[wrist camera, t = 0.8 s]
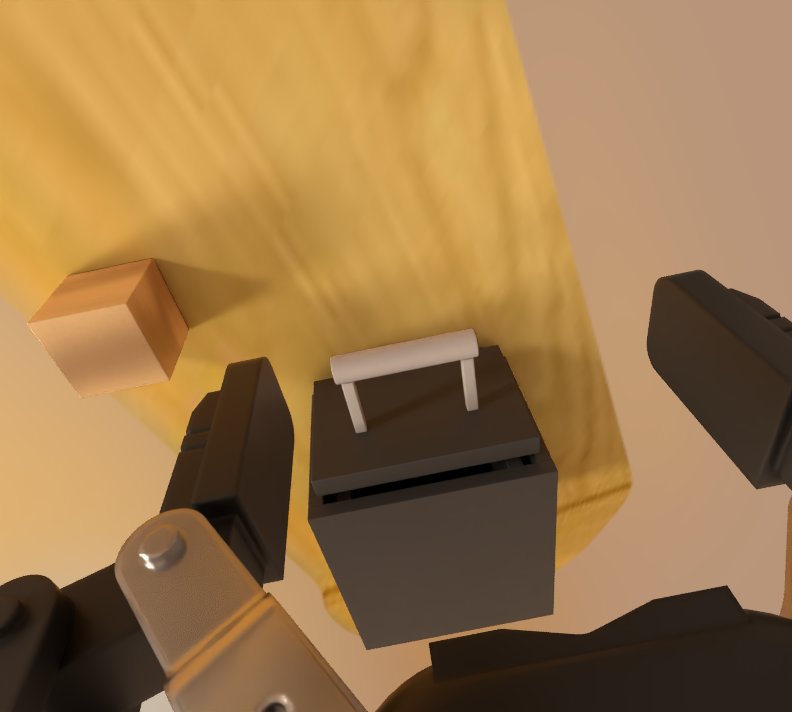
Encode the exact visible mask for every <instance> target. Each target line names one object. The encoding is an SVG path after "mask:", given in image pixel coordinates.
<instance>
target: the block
mask: <svg viewBox="0 0 792 712" xmlns="http://www.w3.org/2000/svg"><path fill="white" fill-rule="evenodd" d="M27 324H28V326H29V327H30V329H31V330H32V331H33V333H34V334H35V336H36V337H37V338H38V340H39V341H40V342H41V343H42V345H43V347H44V348H45V349H46V351H47V352H48V353H49V355H50V356H51V358H52V359H53V360H54V362H55V363H56V365H57V366H58V367H59V369H60V370H61V371H62V373H63V374H64V376H65V377H66V378H67V380H68V381H69V383H70V384H71V385H72V387H73V388H74V389H75V391H76V392H77V394H78V395H79V396H80V398H85V397H90V396H95V395H100V394H105V393H110V392H115V391H120V390H125V389H130V388H135V387H140V386H145V385H150V384H155V383H160V382H165V381H169V380H170V378H171V376H172V373H173V371H174V368H175V365H176V363H177V360H178V357H179V355H180V352H181V350H182V347H183V344H184V342H185V339H186V336H187V334H188V331H189V329H188V327H187V325H186V323H185V321H184V319H183V317H182V315H181V313H180V311H179V309H178V307H177V305H176V303H175V301H174V299H173V297H172V295H171V293H170V291H169V289H168V287H167V285H166V283H165V281H164V279H163V277H162V275H161V273H160V271H159V269H158V267H157V265H156V263H155V261H154V259H153V258H152V259H147V260H142V261H138V262H133V263H128V264H123V265H118V266H113V267H108V268H103V269H99V270H94V271H89V272H84V273H79V274H74V275H69V276H67V277H66V278H65V279H64V281H63V282H62V283H61V284H60V285H59V286H58V288H57V289H56V290H55V291H54V292H53V294H52V295H51V296H50V297H49V298H48V299H47V301H46V302H45V303H44V304H43V305H42V307H41V308H40V309H39V310H38V311H37V313H36V314H35V315H34V316H33V317H32V318H31V320H30V321H29V322H28V323H27Z"/></svg>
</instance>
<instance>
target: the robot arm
mask: <svg viewBox="0 0 792 712" xmlns="http://www.w3.org/2000/svg"><path fill="white" fill-rule="evenodd" d="M647 351H648V356H649V359H650V361H651V364H652V366H653V368H654V369H655V370H656V372H657V373H658V374H659V375H660V376H661V378H662V379H663V380H664V381H665V382H666V383H667V385H668V386H669V387H670V388H671V389H672V391H673V392H674V393H675V394H676V395H677V396H678V398H679V399H680V400H681V401H682V402H683V404H684V405H685V406H686V407H687V408H688V409H689V411H690V412H691V413H692V414H693V415H694V416H695V418H696V419H697V420H698V421H699V422H700V423H701V425H702V426H703V427H704V428H705V429H706V431H707V432H708V433H709V434H710V435H711V436H712V438H713V439H714V440H715V441H716V442H717V444H718V445H719V446H720V447H721V448H722V449H723V451H724V452H725V453H726V454H727V455H728V456H729V458H730V459H731V460H732V461H733V462H734V463H735V465H736V466H737V467H738V468H739V469H740V471H741V472H742V473H743V474H744V475H745V476H746V478H747V479H748V480H749V481H750V482H751V484H752V485H753V486H754V487H755V488H756V489H761V488H766V487H771V486H776V485H781V484H786V485H787V486H788V487H789V488H790V489H791V490H792V322H791V321H789V320H788V319H786V318H785V317H781V316H780V313H778V312H777V311H775V310H774V309H773V308H771V307H770V306H769V305H767V304H766V303H764V302H763V301H762V300H760V299H758V298H756V297H753V296H750V295H748V294H745V293H742V292H740V291H737V290H734V289H727V288H726V287H725V286H723V285H722V284H720V283H719V282H718V281H717V280H715V279H714V278H713V277H711V276H710V275H709V274H707V273H706V272H704V271H702V270H695V271H691V272H685V273H680V274H675V275H671V276H666V277H661V278H659V279H658V280H657V282H656V284H655V287H654V292H653V299H652V307H651V314H650V322H649V328H648V336H647ZM186 434H187V435H186V436H184V439H183V442H182V445H181V452H180V453H179V455H178V458H177V461H176V464H175V467H174V470H173V473H172V476H171V479H170V483H169V485H168V489H167V491H166V495H165V498H164V501H163V504H162V507H161V510H160V514H159V515H157V516H155V517H153V518H151V519H150V520H148V521H146V522H145V523H144V524H142V525H141V526H140V527H139V528H138V529H137V530H135V531H134V532H133V533H132V534H131V536H130V537H129V538H128V539H127V540H126V542H125V543H124V545H123V546H122V548H121V550H120V551H119V553H118V556H117V559H116V562H115V563H113V564H112V565H110V566H108V567H106V568H104V569H102V570H99V571H97V572H95V573H93V574H91V575H89V576H87V577H85V578H83V579H80V580H78V581H76V582H74V583H72V584H70V585H68V586H66V587H63V588H61V589H59V588H58V587H57V586H56V585H55V584H54V583H53V582H52V581H51V580H50V579H49V578H47V577H45V576H42V575H27V576H23V577H19V578H16V579H14V580H11V581H9V582H7V583H5V584H4V585H1V586H0V712H140V708H141V703H142V702H144V701H145V700H147V699H149V698H151V697H153V696H155V695H156V694H158V693H160V692H162V691H164V690H165V693H166V696H167V698H168V700H169V702H170V704H171V706H172V709H173V711H174V712H368V711H367V710H366V709H365V708H364V706H363V705H362V704H361V703H360V701H359V700H358V699H357V698H356V697H355V695H354V694H353V693H352V692H351V690H350V689H349V688H348V687H347V686H346V684H345V683H344V682H343V681H342V679H341V678H340V677H339V676H338V674H337V673H336V672H335V671H334V670H333V668H332V667H331V666H330V665H329V663H328V662H327V661H326V660H325V658H324V657H323V656H322V655H321V654H320V652H319V651H318V650H317V649H316V648H315V646H314V645H313V644H312V643H311V641H310V640H309V639H308V638H307V636H306V635H305V634H304V633H303V632H302V630H301V629H300V628H299V627H298V625H297V624H296V623H295V622H294V620H293V619H292V618H291V617H290V616H289V614H288V613H287V612H286V611H285V609H284V608H283V607H282V606H281V604H280V603H279V602H278V601H277V600H276V599H275V598H274V596H272V595H271V594H270V593H266V592H265V591H264V590H263V584H265V583H270V582H275V581H280V580H283V577H284V564H285V552H286V539H287V527H288V514H289V501H290V489H291V476H292V464H293V451H294V428H293V423H292V418H291V415H290V412H289V409H288V406H287V404H286V401H285V399H284V396H283V394H282V391H281V389H280V386H279V383H278V381H277V378H276V376H275V373H274V371H273V368H272V366H271V364H270V362H269V360H268V359H267V358H266V357H261V358H256V359H251V360H246V361H241V362H236V363H231V364H229V365H228V366H227V369H226V372H225V376H224V380H223V383H222V387H221V390H220V391H215V392H210V393H207V395H206V396H205V397H204V398H203V400H202V401H201V402H200V403H199V404H198V406H197V407H196V408H195V409H194V411H193V412H192V415H191V418H190V421H189V424H188V427H187V430H186ZM786 547H787V548H786V571H785V591H784V598H783V604H782V608H781V612H780V615H779V616H778V615H775V614H771V613H765V612H760V611H754V610H748V609H742V607H741V606H740V604H739V603H738V601H737V600H736V598H735V597H734V595H733V594H732V592H731V591H730V589H729V588H728V586H722V587H716V588H711V589H706V590H701V591H696V592H691V593H685V594H680V595H675V596H670V597H664V598H660V599H654V600H652V601H650V602H648V603H646V604H644V605H642V606H640V607H638V608H636V609H635V610H632V611H631V612H629V613H627V614H625V615H623V616H621V617H619V618H617V619H615V620H613V621H611V622H610V623H608V624H606V625H604V626H602V627H600V628H598V629H596V630H594V631H592V632H590V633H587V634H563V633H549V632H537V631H523V630H510V629H509V630H508V629H498V630H493V631H488V632H483V633H477V634H472V635H467V636H462V637H457V638H451V639H446V640H441V641H436V642H431V643H429V648H430V654H431V661H432V666H429V667H427V668H425V669H424V670H422V671H420V672H418V673H417V674H415V675H414V676H412V677H411V678H410V679H408V680H407V681H405V682H404V683H403V684H401V685H400V686H399V687H398V688H397V689H396V690H395V691H394V692H393V693H392V694H390V695H389V696H388V697H387V699H386V700H385V701H384V702H383V703H382V704H381V706H380V707H379V708H378V709H377V710H376V712H792V496H791V498H790V501H789V505H788V522H787V546H786Z"/></svg>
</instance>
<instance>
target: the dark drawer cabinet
mask: <svg viewBox="0 0 792 712" xmlns="http://www.w3.org/2000/svg"><path fill="white" fill-rule="evenodd" d="M503 357H504V356H503ZM504 359H505V362H506V364H507V366H508V368H509V370H510V373H511V375H512V377H513V379H514V381H515V384H516V386H517V388H518V390H519V392H520V394H521V397H522V399H523V401H524V403H525V405H526V408H527V410H528V412H529V414H530V416H531V419H532V421H533V423H534V425H535V427H536V430H537V432H538V434H539V436H540V452H539V453H536V454H531V455H526V456H521V457H520V458H521V460H522V463H523V465H522V466H517V467H512V468H507V469H502V470H497V471H492V472H487V473H482V474H477V475H472V476H467V477H461V478H456V479H451V480H446V481H441V482H436V483H431V484H426V485H421V486H416V487H411V488H406V489H401V490H395V491H390V492H385V493H380V494H375V495H370V496H365V497H360V498H355V499H350V500H345V501H340V502H337V493H333V494H328V495H323V496H317V495H316V493H315V490H314V488H313V485H312V483H311V466H312V433H313V400H314V394H313V395H312V413H311V442H310V472H309V501H308V507H309V508H308V522H309V524H310V526H311V529H312V531H313V533H314V535H315V537H316V540H317V542H318V544H319V546H320V548H321V551H322V553H323V555H324V557H325V559H326V562H327V564H328V566H329V568H330V570H331V573H332V575H333V577H334V579H335V581H336V584H337V586H338V588H339V590H340V592H341V595H342V597H343V599H344V601H345V603H346V606H347V608H348V610H349V612H350V614H351V617H352V619H353V621H354V623H355V625H356V628H357V630H358V632H359V634H360V636H361V639H362V641H363V643H364V645H365V647H366V650H370V649H375V648H381V647H385V646H391V645H396V644H401V643H407V642H412V641H417V640H422V639H427V638H433V637H437V636H442V635H448V634H453V633H458V632H463V631H469V630H474V629H479V628H484V627H490V626H495V625H500V624H505V623H511V622H516V621H520V620H526V619H531V618H536V617H542V616H547V615H552V614H553V608H554V576H555V575H554V574H555V545H556V513H557V481H558V471H557V468H556V466H555V464H554V462H553V460H552V458H551V456H550V453H549V451H548V449H547V447H546V445H545V443H544V440H543V438H542V436H541V434H540V432H539V430H538V427H537V425H536V423H535V421H534V419H533V417H532V414H531V412H530V410H529V408H528V406H527V403H526V401H525V399H524V397H523V395H522V393H521V390H520V388H519V386H518V384H517V382H516V380H515V377H514V375H513V373H512V371H511V369H510V367H509V365H508V362H507V360H506V358H505V357H504Z"/></svg>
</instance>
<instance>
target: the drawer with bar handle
mask: <svg viewBox="0 0 792 712" xmlns="http://www.w3.org/2000/svg"><path fill="white" fill-rule="evenodd" d="M330 364H331V370H332V375H333V378H330V379H325V380H320V381H315V382H314V400H313V433H312V466H311V483H312V485H313V488H314V490H315V493H316V495H317V496H323V495H328V494H333V493H337V502H340V501H345V500H350V499H355V498H360V497H365V496H370V495H375V494H380V493H385V492H390V491H395V490H401V489H406V488H411V487H416V486H421V485H426V484H431V483H436V482H441V481H446V480H451V479H456V478H461V477H467V476H472V475H477V474H482V473H487V472H492V471H497V470H502V469H507V468H512V467H517V466H522V465H523V463H522V460H521V458H520V457H521V456H526V455H531V454H536V453H539V452H540V436H539V434H538V432H537V430H536V427H535V425H534V423H533V421H532V419H531V416H530V414H529V412H528V410H527V408H526V405H525V403H524V401H523V399H522V397H521V394H520V392H519V390H518V388H517V386H516V384H515V381H514V379H513V377H512V375H511V373H510V370H509V368H508V366H507V364H506V362H505V359H504V357H503V355H502V353H501V351H500V348H499V346H498V345H495V346H490V347H485V348H480V349H478V343H477V338H476V335H475V332H474V330H473V328H470V329H465V330H460V331H455V332H450V333H445V334H440V335H435V336H430V337H425V338H420V339H415V340H410V341H405V342H400V343H395V344H390V345H385V346H380V347H375V348H370V349H365V350H360V351H355V352H350V353H346V354H341V355H336V356H331V358H330Z"/></svg>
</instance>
